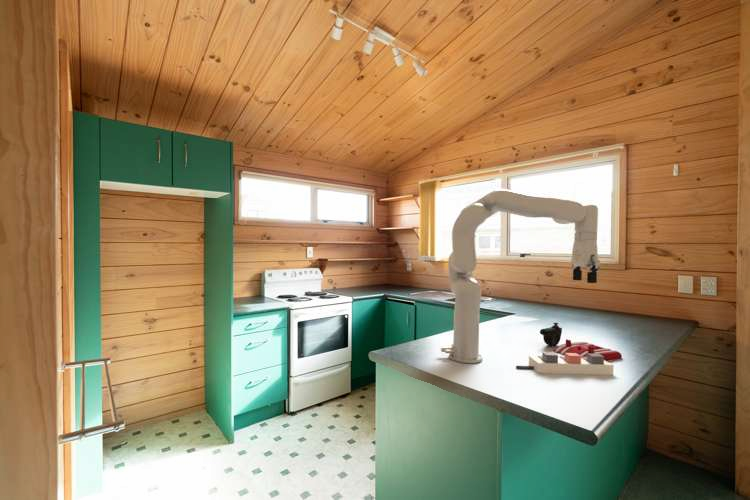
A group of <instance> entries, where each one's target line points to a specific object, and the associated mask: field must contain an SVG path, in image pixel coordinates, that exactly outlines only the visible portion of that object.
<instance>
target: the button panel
mask: <svg viewBox="0 0 750 500" xmlns="http://www.w3.org/2000/svg"><path fill="white" fill-rule="evenodd" d="M515 369H517V370H518V369H519V370H521V369H522V370H534V371H535V372H536V373H537V374H562V375H563V374H565V375H566V374H567V375H595V376H596V375H597V376H599V375H601V376H614V364H612V363H610V362H608V361H605V360H604V365H603V364H591V363H589V362H587V357H581V364H569V363H567V362H566V361H565V356H564V355H560V356H559V355H558V363H545V362H544V361H542V355H528V365H515Z"/></svg>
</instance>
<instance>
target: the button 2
mask: <svg viewBox="0 0 750 500" xmlns="http://www.w3.org/2000/svg"><path fill="white" fill-rule="evenodd" d="M565 361H566V362H567V363H569V364H581V356H580V355H578V354H577V353H565Z"/></svg>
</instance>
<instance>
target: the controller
mask: <svg viewBox="0 0 750 500" xmlns="http://www.w3.org/2000/svg"><path fill="white" fill-rule="evenodd" d="M552 323H553V325H552V326H550V327H545V328H541V329H540V331H539V334H540V335H541V336H543V342H544V343H545V345H547V346H549V347H556V346H557V345H559V342H560V341H561V337H562V334H563V333H562V332H563V327H560V326H559V323H558V322H552Z"/></svg>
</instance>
